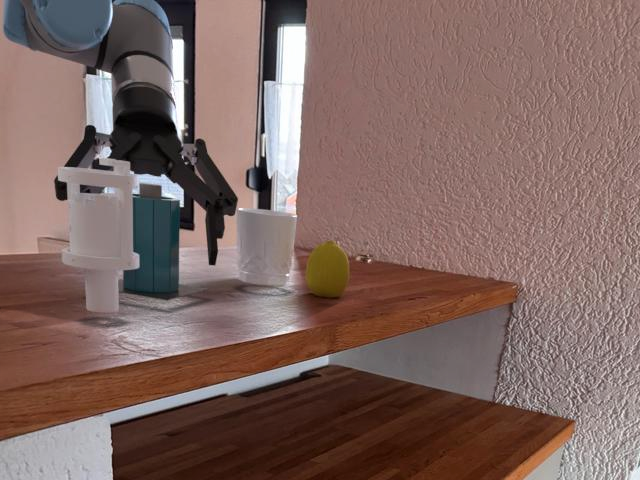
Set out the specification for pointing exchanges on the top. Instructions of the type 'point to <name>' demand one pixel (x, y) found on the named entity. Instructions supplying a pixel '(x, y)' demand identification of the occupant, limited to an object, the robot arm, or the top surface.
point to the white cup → (265, 246)
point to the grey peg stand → (156, 193)
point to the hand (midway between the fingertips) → (152, 254)
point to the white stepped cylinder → (101, 230)
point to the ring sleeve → (155, 245)
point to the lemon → (327, 270)
